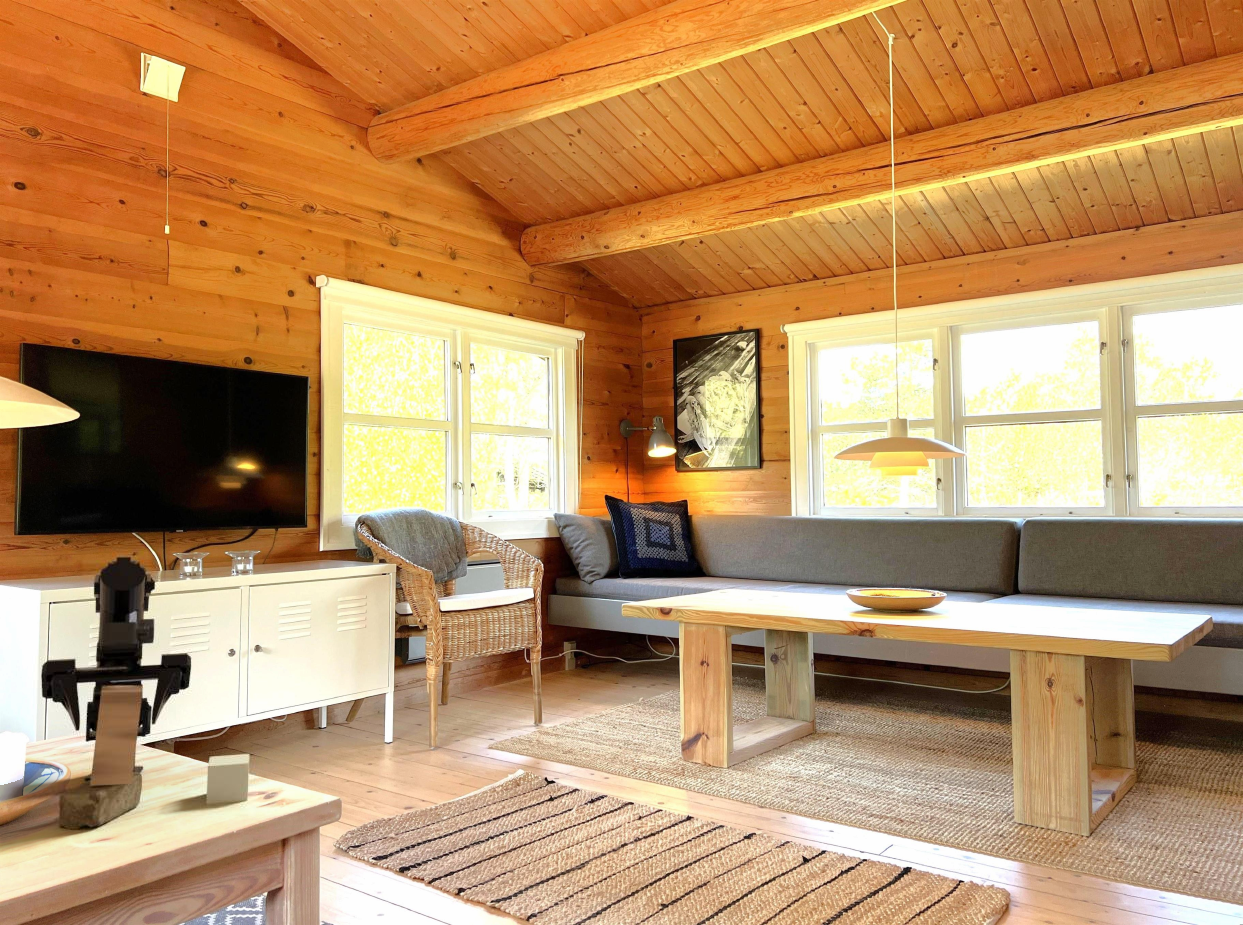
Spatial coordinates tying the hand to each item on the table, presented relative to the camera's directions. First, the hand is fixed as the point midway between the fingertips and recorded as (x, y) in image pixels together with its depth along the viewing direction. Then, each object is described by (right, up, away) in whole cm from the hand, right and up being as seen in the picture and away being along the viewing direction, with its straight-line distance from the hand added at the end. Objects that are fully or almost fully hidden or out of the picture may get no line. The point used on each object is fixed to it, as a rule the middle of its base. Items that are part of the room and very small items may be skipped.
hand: (116, 725), depth 128 cm
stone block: (-2, -13, 0) cm, 13 cm away
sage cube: (+11, -13, +10) cm, 20 cm away
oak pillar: (-1, -8, +1) cm, 8 cm away
